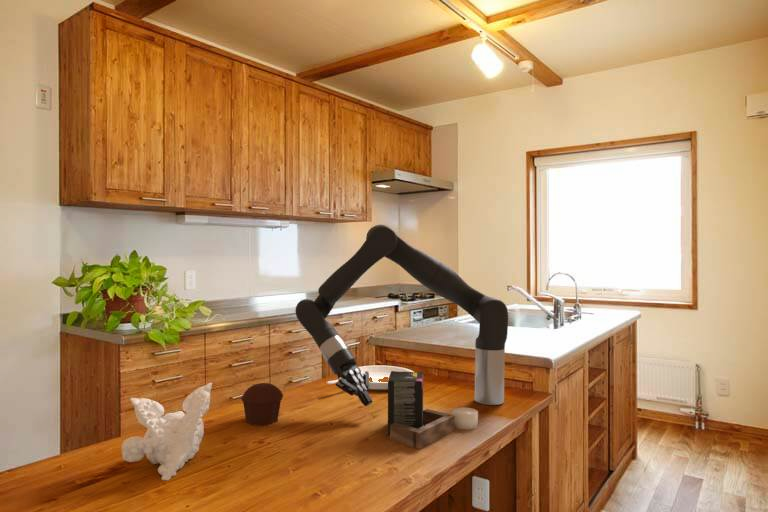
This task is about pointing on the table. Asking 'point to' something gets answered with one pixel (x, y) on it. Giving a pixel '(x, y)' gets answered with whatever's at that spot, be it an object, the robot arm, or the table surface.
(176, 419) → the white animal figurine
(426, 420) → the frame
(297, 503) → the table surface
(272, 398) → the muffin
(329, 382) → the pan
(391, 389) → the tampon box
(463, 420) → the rounded cream block
